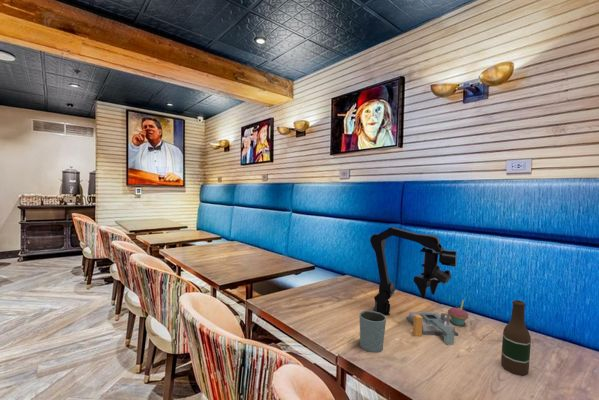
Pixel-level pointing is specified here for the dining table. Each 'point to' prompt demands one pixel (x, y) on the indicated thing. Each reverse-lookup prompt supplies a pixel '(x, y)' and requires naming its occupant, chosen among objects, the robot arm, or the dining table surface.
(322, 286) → the dining table surface
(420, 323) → the orange upright bar
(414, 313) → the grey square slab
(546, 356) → the dining table surface
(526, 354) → the beer bottle
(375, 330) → the grey cup
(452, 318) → the cupcake
